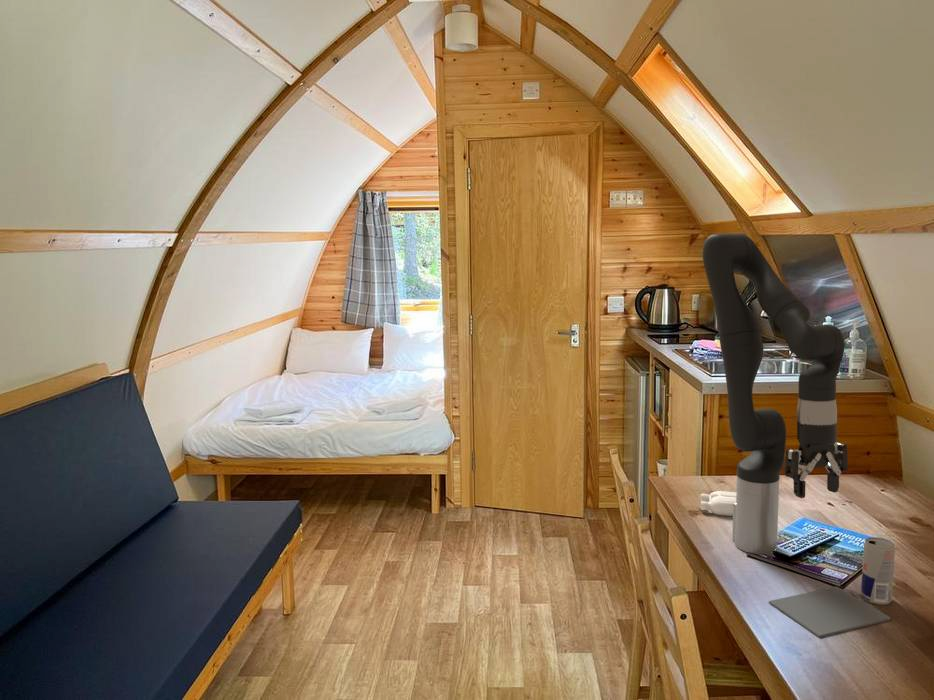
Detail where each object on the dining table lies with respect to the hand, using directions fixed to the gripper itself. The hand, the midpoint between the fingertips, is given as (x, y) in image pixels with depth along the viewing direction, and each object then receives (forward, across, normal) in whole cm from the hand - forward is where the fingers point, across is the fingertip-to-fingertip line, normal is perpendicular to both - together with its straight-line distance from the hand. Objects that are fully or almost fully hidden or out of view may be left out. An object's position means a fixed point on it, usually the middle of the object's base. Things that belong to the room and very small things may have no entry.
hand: (816, 494), depth 147 cm
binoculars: (+17, -7, -36) cm, 41 cm away
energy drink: (+19, -4, +12) cm, 23 cm away
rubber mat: (+19, +9, +12) cm, 24 cm away
